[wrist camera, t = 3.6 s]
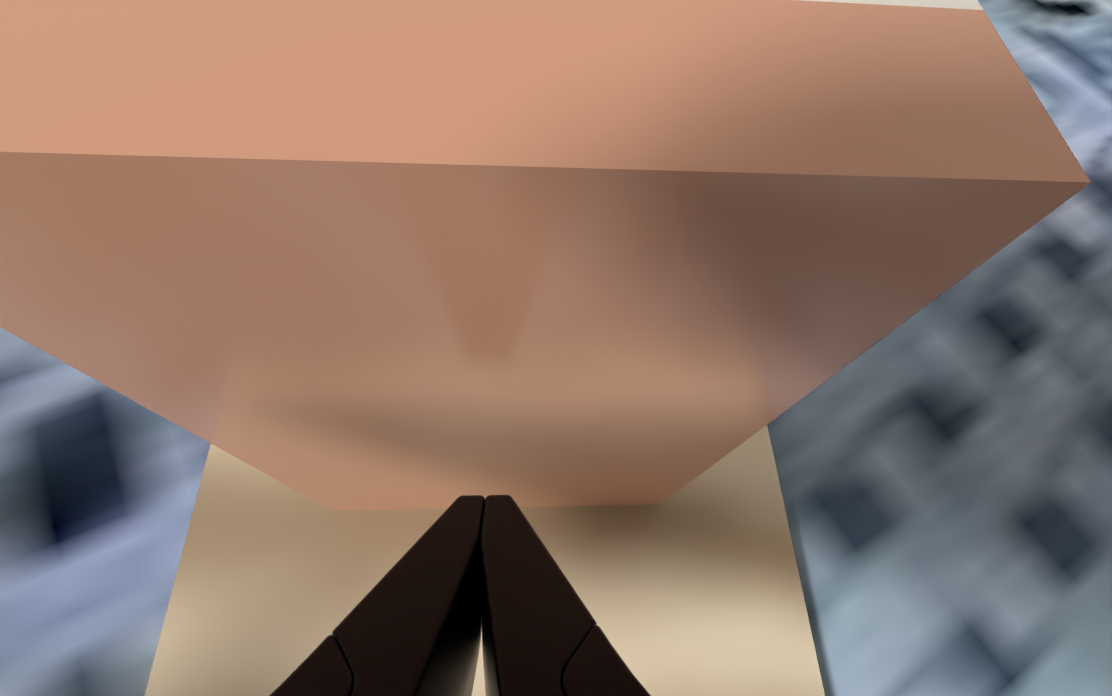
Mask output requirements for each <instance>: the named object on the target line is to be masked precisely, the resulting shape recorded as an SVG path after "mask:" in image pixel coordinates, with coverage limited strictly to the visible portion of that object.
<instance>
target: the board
mask: <svg viewBox="0 0 1112 696" xmlns="http://www.w3.org/2000/svg"><path fill="white" fill-rule="evenodd" d="M519 508H520V510H521V511H522V513H523V514H524V516H525V517H526V519H527V520H528V522H529V523H530V525H531V526H532V528H533V529H534V530H535V532H536V533H537V535H538V536H539V538H540V539H541V541H542V542H543V544H544V545H545V547H546V548H547V550H548V551H549V553H550V554H551V556H552V557H553V559H554V560H555V562H556V563H557V565H558V566H559V568H560V569H561V571H562V572H563V574H564V575H565V576H566V578H567V579H568V581H569V582H570V584H571V585H572V587H573V588H574V590H575V591H576V593H577V594H578V596H579V597H580V599H581V600H582V602H583V603H584V605H585V606H586V608H587V609H588V611H589V612H590V614H591V615H592V617H593V618H594V620H595V621H596V623H597V626H599V627H600V628H601V629H602V631H603V632H604V634H605V635H606V637H607V638H608V640H609V641H610V643H611V644H612V646H613V647H614V649H615V650H616V651H617V653H618V654H619V656H620V657H621V658H622V660H623V661H624V662H625V664H626V665H627V667H628V668H629V669H630V671H631V672H632V673H633V675H634V676H635V677H636V678H637V680H638V681H639V682H640V683H641V684H642V686H643V687H644V688H645V689H646V690H647V692H648V693H649V694H650V695H651V696H825V693H824V688H823V684H822V679H821V674H820V670H819V665H818V660H817V656H816V651H815V646H814V642H813V637H812V632H811V628H810V623H809V618H808V614H807V609H806V604H805V599H804V595H803V590H802V585H801V581H800V576H799V571H798V567H797V562H796V557H795V553H794V548H793V543H792V539H791V534H790V529H789V524H788V520H787V515H786V510H785V506H784V501H783V496H782V492H781V487H780V482H779V478H778V473H777V468H776V464H775V459H774V454H773V450H772V445H771V440H770V435H769V431H768V426H767V425H766V426H765V427H763V428H762V429H761V430H759V431H758V432H757V433H755V434H754V435H753V436H751V437H750V438H749V439H747V440H746V441H745V442H743V443H742V444H741V445H739V446H738V447H737V448H735V449H734V450H733V451H731V452H730V453H729V454H727V455H726V456H725V457H723V458H722V459H721V460H719V461H718V462H717V463H715V464H714V465H713V466H711V467H710V468H709V469H707V470H706V471H705V472H703V473H702V474H701V475H699V476H698V477H697V478H695V479H694V480H693V481H691V482H690V483H689V484H687V485H686V486H685V487H683V488H682V489H681V490H679V491H678V492H677V493H675V494H674V495H673V496H671V497H670V498H669V499H667V500H666V501H665V502H663V503H662V504H661V505H615V506H561V507H519ZM446 510H447V509H400V510H346V511H332V510H330V509H328V508H326V507H325V506H323V505H321V504H319V503H317V502H316V501H314V500H312V499H310V498H308V497H306V496H305V495H303V494H301V493H299V492H297V491H296V490H294V489H292V488H290V487H288V486H287V485H285V484H283V483H281V482H279V481H278V480H276V479H274V478H272V477H270V476H269V475H267V474H265V473H263V472H261V471H260V470H258V469H256V468H254V467H252V466H251V465H249V464H247V463H245V462H243V461H242V460H240V459H238V458H236V457H234V456H232V455H231V454H229V453H227V452H225V451H223V450H222V449H220V448H218V447H216V446H214V445H213V444H211V445H210V449H209V453H208V456H207V460H206V464H205V468H204V472H203V475H202V479H201V483H200V487H199V491H198V494H197V498H196V502H195V506H194V510H193V513H192V517H191V521H190V525H189V529H188V532H187V536H186V540H185V544H184V547H183V551H182V555H181V559H180V563H179V566H178V570H177V574H176V578H175V582H174V585H173V589H172V593H171V597H170V601H169V604H168V608H167V612H166V616H165V620H164V623H163V627H162V631H161V635H160V639H159V642H158V646H157V650H156V654H155V658H154V661H153V665H152V669H151V673H150V677H149V680H148V684H147V688H146V692H145V696H269V695H270V694H271V693H272V692H273V691H274V690H275V689H277V688H278V687H279V686H280V685H281V684H282V683H283V682H284V681H285V680H286V678H287V677H288V676H289V675H290V674H291V673H292V672H293V671H294V670H295V669H296V668H297V667H298V666H299V665H300V664H301V663H302V662H303V661H304V660H305V659H306V658H307V657H308V656H309V655H310V654H311V653H312V652H313V651H314V650H315V649H316V648H317V647H318V646H319V645H320V643H321V642H322V641H323V640H324V639H325V638H326V637H327V636H328V635H332V632H333V630H334V629H335V628H336V627H337V626H338V625H339V624H340V623H341V621H342V620H343V619H344V618H345V617H346V616H347V615H348V614H349V613H350V612H351V611H352V610H353V609H354V608H355V607H356V605H357V604H358V603H359V602H360V601H361V600H362V599H363V598H364V597H365V596H366V595H367V594H368V593H369V592H370V591H371V590H372V588H373V587H374V586H375V585H376V584H377V583H378V582H379V581H380V580H381V579H382V578H383V577H384V576H385V575H386V574H387V572H388V571H389V570H390V569H391V568H392V567H393V566H394V565H395V564H396V563H397V562H398V561H399V560H400V559H401V558H402V556H403V555H404V554H405V553H406V552H407V551H408V550H409V549H410V548H411V547H412V546H413V545H414V544H415V543H416V542H417V541H418V539H419V538H420V537H421V536H422V535H423V534H424V533H425V532H426V531H427V530H428V529H429V528H430V527H431V526H432V525H433V523H434V522H435V521H436V520H437V519H438V518H439V517H440V516H441V515H442V514H443V513H444V512H445V511H446ZM472 696H486V693H485V680H484V666H483V650H482V631H481V642H480V649H479V656H478V662H477V667H476V673H475V679H474V685H473V690H472Z"/></svg>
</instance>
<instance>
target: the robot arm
mask: <svg viewBox="0 0 1112 696" xmlns="http://www.w3.org/2000/svg"><path fill="white" fill-rule="evenodd" d="M481 631H482V650H483V666H484V680H485V693H486V696H651V695H650V694H649V693H648V692H647V690H646V689H645V688H644V687H643V686H642V684H641V683H640V682H639V681H638V680H637V678H636V677H635V676H634V675H633V673H632V672H631V671H630V669H629V668H628V667H627V665H626V664H625V662H624V661H623V660H622V658H621V657H620V656H619V654H618V653H617V651H616V650H615V649H614V647H613V646H612V644H611V643H610V641H609V640H608V638H607V637H606V635H605V634H604V632H603V631H602V629H601V628H600V627H599V626H597V623H596V621H595V620H594V618H593V617H592V615H591V614H590V612H589V611H588V609H587V608H586V606H585V605H584V603H583V602H582V600H581V599H580V597H579V596H578V594H577V593H576V591H575V590H574V588H573V587H572V585H571V584H570V582H569V581H568V579H567V578H566V576H565V575H564V574H563V572H562V571H561V569H560V568H559V566H558V565H557V563H556V562H555V560H554V559H553V557H552V556H551V554H550V553H549V551H548V550H547V548H546V547H545V545H544V544H543V542H542V541H541V539H540V538H539V536H538V535H537V533H536V532H535V530H534V529H533V528H532V526H531V525H530V523H529V522H528V520H527V519H526V517H525V516H524V514H523V513H522V511H521V510H520V508H519V507H518V505H517V504H516V502H515V501H514V499H513V498H512V497H511V496H510V495H488V496H487V497H486V498H484V496H482V495H462V496H459V497H458V498H457V499H456V500H455V501H454V502H453V503H452V504H451V505H450V506H449V508H448V509H447V510H446V511H445V512H444V513H443V514H442V515H441V516H440V517H439V518H438V519H437V520H436V521H435V522H434V523H433V525H432V526H431V527H430V528H429V529H428V530H427V531H426V532H425V533H424V534H423V535H422V536H421V537H420V538H419V539H418V541H417V542H416V543H415V544H414V545H413V546H412V547H411V548H410V549H409V550H408V551H407V552H406V553H405V554H404V555H403V556H402V558H401V559H400V560H399V561H398V562H397V563H396V564H395V565H394V566H393V567H392V568H391V569H390V570H389V571H388V572H387V574H386V575H385V576H384V577H383V578H382V579H381V580H380V581H379V582H378V583H377V584H376V585H375V586H374V587H373V588H372V590H371V591H370V592H369V593H368V594H367V595H366V596H365V597H364V598H363V599H362V600H361V601H360V602H359V603H358V604H357V605H356V607H355V608H354V609H353V610H352V611H351V612H350V613H349V614H348V615H347V616H346V617H345V618H344V619H343V620H342V621H341V623H340V624H339V625H338V626H337V627H336V628H335V629H334V630H333V632H332V635H328V636H327V637H326V638H325V639H324V640H323V641H322V642H321V643H320V645H319V646H318V647H317V648H316V649H315V650H314V651H313V652H312V653H311V654H310V655H309V656H308V657H307V658H306V659H305V660H304V661H303V662H302V663H301V664H300V665H299V666H298V667H297V668H296V669H295V670H294V671H293V672H292V673H291V674H290V675H289V676H288V677H287V678H286V680H285V681H284V682H283V683H282V684H281V685H280V686H279V687H278V688H277V689H275V690H274V691H273V692H272V693H271V694H270V695H269V696H472V690H473V685H474V679H475V673H476V667H477V662H478V656H479V649H480V642H481Z"/></svg>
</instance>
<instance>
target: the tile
mask: <svg viewBox="0 0 1112 696" xmlns="http://www.w3.org/2000/svg"><path fill="white" fill-rule="evenodd" d="M1089 183H1091V182H1090V180H1089V179H1088V177H1087V175H1086V174H1085V172H1084V171H1083V169H1082V167H1081V166H1080V164H1079V163H1078V161H1077V159H1076V158H1075V156H1074V155H1073V153H1072V151H1071V150H1070V148H1069V146H1068V145H1067V143H1066V142H1065V140H1064V138H1063V137H1062V135H1061V134H1060V132H1059V130H1058V129H1057V127H1056V126H1055V124H1054V122H1053V121H1052V119H1051V118H1050V116H1049V114H1048V113H1047V111H1046V110H1045V108H1044V106H1043V105H1042V103H1041V102H1040V100H1039V98H1038V97H1037V95H1036V94H1035V92H1034V90H1033V89H1032V87H1031V86H1030V84H1029V82H1028V81H1027V79H1026V78H1025V76H1024V74H1023V73H1022V71H1021V70H1020V68H1019V66H1018V65H1017V63H1016V62H1015V60H1014V58H1013V57H1012V55H1011V54H1010V52H1009V50H1008V49H1007V47H1006V46H1005V44H1004V42H1003V41H1002V39H1001V38H1000V36H999V34H998V33H997V31H996V30H995V28H994V26H993V25H992V23H991V22H990V20H989V18H988V17H987V15H986V14H985V12H984V10H983V9H982V7H981V6H980V4H979V2H978V1H977V0H0V327H1V328H3V329H5V330H7V331H9V332H10V333H12V334H14V335H16V336H18V337H19V338H21V339H23V340H25V341H27V342H28V343H30V344H32V345H34V346H36V347H38V348H39V349H41V350H43V351H45V352H47V353H48V354H50V355H52V356H54V357H56V358H57V359H59V360H61V361H63V362H65V363H66V364H68V365H70V366H72V367H74V368H75V369H77V370H79V371H81V372H83V373H84V374H86V375H88V376H90V377H92V378H93V379H95V380H97V381H99V382H101V383H103V384H104V385H106V386H108V387H110V388H112V389H113V390H115V391H117V392H119V393H121V394H122V395H124V396H126V397H128V398H130V399H131V400H133V401H135V402H137V403H139V404H140V405H142V406H144V407H146V408H148V409H149V410H151V411H153V412H155V413H157V414H158V415H160V416H162V417H164V418H166V419H167V420H169V421H171V422H173V423H175V424H177V425H178V426H180V427H182V428H184V429H186V430H187V431H189V432H191V433H193V434H195V435H196V436H198V437H200V438H202V439H204V440H205V441H207V442H209V443H211V444H213V445H214V446H216V447H218V448H220V449H222V450H223V451H225V452H227V453H229V454H231V455H232V456H234V457H236V458H238V459H240V460H242V461H243V462H245V463H247V464H249V465H251V466H252V467H254V468H256V469H258V470H260V471H261V472H263V473H265V474H267V475H269V476H270V477H272V478H274V479H276V480H278V481H279V482H281V483H283V484H285V485H287V486H288V487H290V488H292V489H294V490H296V491H297V492H299V493H301V494H303V495H305V496H306V497H308V498H310V499H312V500H314V501H316V502H317V503H319V504H321V505H323V506H325V507H326V508H328V509H330V510H332V511H346V510H400V509H448V508H449V506H450V505H451V504H452V503H453V502H454V501H455V500H456V499H457V498H458V497H459V496H462V495H482V496H484V498H486V497H487V496H488V495H510V496H511V497H512V498H513V499H514V501H515V502H516V504H517V505H518V507H561V506H615V505H661V504H662V503H663V502H665V501H666V500H667V499H669V498H670V497H671V496H673V495H674V494H675V493H677V492H678V491H679V490H681V489H682V488H683V487H685V486H686V485H687V484H689V483H690V482H691V481H693V480H694V479H695V478H697V477H698V476H699V475H701V474H702V473H703V472H705V471H706V470H707V469H709V468H710V467H711V466H713V465H714V464H715V463H717V462H718V461H719V460H721V459H722V458H723V457H725V456H726V455H727V454H729V453H730V452H731V451H733V450H734V449H735V448H737V447H738V446H739V445H741V444H742V443H743V442H745V441H746V440H747V439H749V438H750V437H751V436H753V435H754V434H755V433H757V432H758V431H759V430H761V429H762V428H763V427H765V426H766V425H767V424H769V423H770V422H771V421H773V420H774V419H775V418H777V417H778V416H779V415H781V414H782V413H783V412H785V411H786V410H787V409H789V408H790V407H791V406H793V405H794V404H795V403H797V402H798V401H799V400H801V399H802V398H803V397H805V396H806V395H807V394H809V393H810V392H811V391H813V390H814V389H815V388H817V387H818V386H819V385H821V384H822V383H824V382H825V381H826V380H828V379H829V378H830V377H832V376H833V375H834V374H836V373H837V372H838V371H840V370H841V369H842V368H844V367H845V366H846V365H848V364H849V363H850V362H852V361H853V360H854V359H856V358H857V357H858V356H860V355H861V354H862V353H864V352H865V351H866V350H868V349H869V348H870V347H872V346H873V345H874V344H876V343H877V342H878V341H880V340H881V339H882V338H884V337H885V336H886V335H888V334H889V333H890V332H892V331H893V330H894V329H896V328H897V327H898V326H900V325H901V324H902V323H904V322H905V321H906V320H908V319H909V318H910V317H912V316H913V315H914V314H916V313H917V312H918V311H920V310H921V309H922V308H924V307H925V306H926V305H928V304H929V303H930V302H932V301H933V300H934V299H936V298H937V297H938V296H940V295H941V294H942V293H944V292H945V291H946V290H948V289H949V288H950V287H952V286H953V285H954V284H956V283H957V282H958V281H960V280H961V279H962V278H964V277H965V276H966V275H968V274H969V273H970V272H972V271H973V270H974V269H976V268H977V267H978V266H980V265H981V264H982V263H984V262H985V261H986V260H988V259H989V258H990V257H992V256H993V255H994V254H996V253H997V252H998V251H1000V250H1001V249H1002V248H1004V247H1005V246H1006V245H1008V244H1009V243H1010V242H1012V241H1013V240H1014V239H1016V238H1017V237H1019V236H1020V235H1021V234H1023V233H1024V232H1025V231H1027V230H1028V229H1029V228H1031V227H1032V226H1033V225H1035V224H1036V223H1037V222H1039V221H1040V220H1041V219H1043V218H1044V217H1045V216H1047V215H1048V214H1049V213H1051V212H1052V211H1053V210H1055V209H1056V208H1057V207H1059V206H1060V205H1061V204H1063V203H1064V202H1065V201H1067V200H1068V199H1069V198H1071V197H1072V196H1073V195H1075V194H1076V193H1077V192H1079V191H1080V190H1081V189H1083V188H1084V187H1085V186H1087V185H1088V184H1089Z"/></svg>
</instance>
